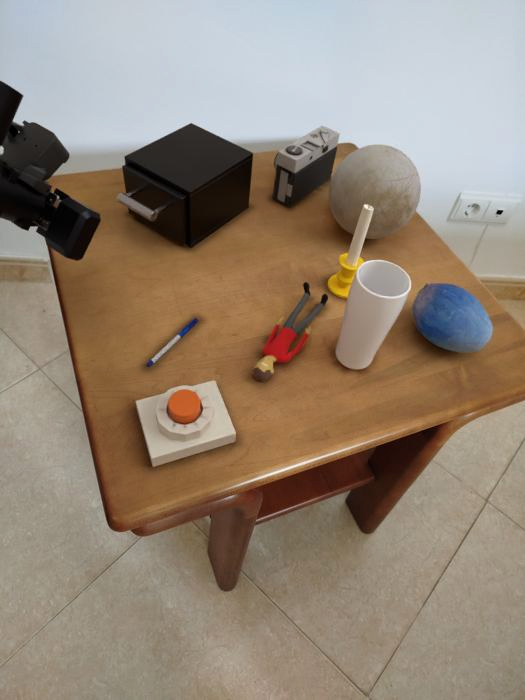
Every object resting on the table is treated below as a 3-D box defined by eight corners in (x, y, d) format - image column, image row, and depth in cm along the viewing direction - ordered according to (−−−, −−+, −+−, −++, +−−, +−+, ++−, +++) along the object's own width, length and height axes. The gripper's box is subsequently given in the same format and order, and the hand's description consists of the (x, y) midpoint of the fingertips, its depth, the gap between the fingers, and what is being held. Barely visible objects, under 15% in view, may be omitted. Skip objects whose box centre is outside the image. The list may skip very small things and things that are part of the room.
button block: (152, 467, 55) (149, 451, 52) (137, 410, 60) (133, 392, 57) (235, 442, 58) (237, 425, 55) (214, 389, 63) (215, 371, 60)
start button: (173, 427, 55) (172, 419, 53) (165, 401, 57) (164, 393, 55) (204, 418, 56) (204, 410, 54) (195, 394, 58) (195, 385, 56)
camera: (298, 163, 99) (306, 114, 91) (331, 180, 96) (343, 131, 89) (255, 190, 92) (260, 139, 84) (290, 209, 89) (298, 158, 81)
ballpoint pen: (194, 319, 70) (194, 314, 70) (199, 321, 70) (199, 317, 69) (146, 366, 64) (145, 361, 64) (151, 369, 64) (151, 365, 63)
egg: (424, 246, 69) (515, 309, 64) (418, 275, 77) (499, 334, 71) (382, 287, 68) (471, 355, 63) (380, 313, 76) (459, 375, 71)
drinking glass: (385, 368, 68) (423, 291, 56) (343, 381, 66) (373, 303, 54) (362, 333, 71) (393, 254, 60) (321, 344, 69) (345, 264, 58)
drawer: (165, 258, 76) (162, 210, 69) (110, 224, 80) (101, 176, 73) (238, 207, 86) (241, 161, 80) (186, 179, 90) (184, 133, 83)
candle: (341, 271, 80) (366, 187, 68) (366, 288, 78) (396, 205, 65) (320, 285, 77) (342, 200, 65) (345, 303, 75) (373, 220, 63)
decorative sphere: (392, 206, 93) (419, 129, 81) (413, 258, 84) (447, 180, 72) (315, 202, 91) (332, 124, 79) (328, 255, 82) (348, 175, 70)
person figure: (331, 286, 71) (271, 368, 60) (333, 307, 73) (276, 389, 63) (300, 280, 73) (237, 358, 63) (303, 301, 76) (243, 379, 65)
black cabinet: (191, 248, 80) (189, 191, 71) (131, 213, 84) (124, 156, 76) (248, 207, 88) (253, 152, 80) (192, 177, 92) (191, 122, 84)
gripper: (70, 146, 48) (157, 197, 62) (-45, 81, 54) (60, 142, 68) (23, 247, 49) (119, 273, 64) (-83, 174, 55) (27, 214, 70)
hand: (81, 222), depth 66 cm, fingers closed
